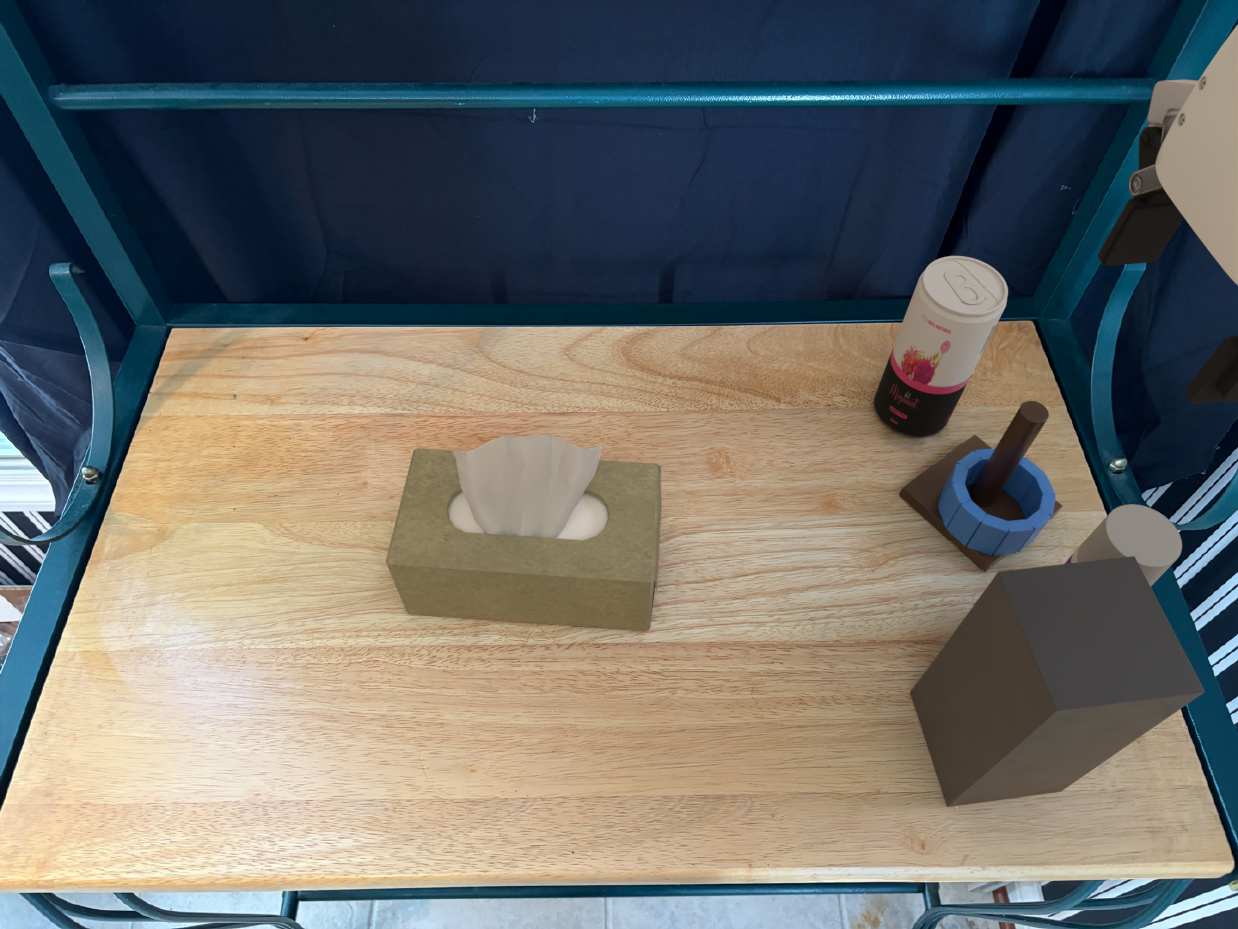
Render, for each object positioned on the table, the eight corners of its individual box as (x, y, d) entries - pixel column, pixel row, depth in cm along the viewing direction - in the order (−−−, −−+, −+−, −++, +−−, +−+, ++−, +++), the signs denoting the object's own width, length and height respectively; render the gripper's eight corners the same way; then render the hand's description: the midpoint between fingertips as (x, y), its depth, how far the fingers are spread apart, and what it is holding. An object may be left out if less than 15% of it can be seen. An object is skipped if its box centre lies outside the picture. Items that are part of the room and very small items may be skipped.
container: (1004, 613, 69) (1091, 505, 56) (1064, 607, 69) (1163, 499, 57) (1027, 671, 66) (1123, 572, 54) (1089, 665, 66) (1198, 564, 54)
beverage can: (892, 447, 77) (946, 323, 65) (860, 390, 81) (905, 263, 69) (961, 431, 79) (1027, 306, 66) (926, 375, 82) (982, 247, 70)
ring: (1056, 522, 72) (1076, 497, 69) (993, 572, 69) (1010, 549, 66) (982, 459, 75) (997, 433, 72) (919, 504, 73) (932, 479, 70)
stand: (1057, 513, 74) (1127, 421, 64) (985, 572, 71) (1047, 485, 61) (970, 442, 78) (1023, 345, 68) (898, 495, 75) (943, 401, 65)
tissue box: (659, 520, 73) (670, 395, 60) (653, 632, 67) (664, 520, 54) (427, 505, 74) (389, 377, 61) (402, 614, 68) (354, 500, 55)
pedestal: (1061, 791, 61) (1205, 692, 46) (947, 807, 60) (1056, 711, 46) (1016, 679, 66) (1134, 555, 51) (909, 692, 65) (998, 571, 50)
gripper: (1692, 121, 28) (1332, 452, 42) (1358, -122, 38) (1157, 210, 52) (1469, 137, 27) (1179, 467, 41) (1189, -114, 37) (1032, 220, 51)
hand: (1167, 324), depth 47 cm, fingers open, 9 cm apart
